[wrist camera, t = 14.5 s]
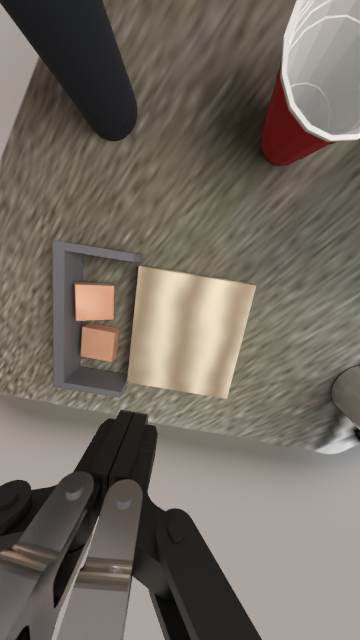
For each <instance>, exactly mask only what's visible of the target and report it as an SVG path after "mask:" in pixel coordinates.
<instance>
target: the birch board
mask: <svg viewBox="0 0 360 640" xmlns="http://www.w3.org/2000/svg"><path fill="white" fill-rule="evenodd" d="M255 289H256V285H253V284H250V283H245V282H239V281H233V280H227V279H221V278H215V277H209V276H203V275H197V274H191V273H185V272H179V271H173V270H167V269H161V268H155V267H149V266H139V270H138V280H137V290H136V299H135V309H134V319H133V328H132V338H131V348H130V357H129V367H128V377H127V382H129V383H135V384H141V385H147V386H153V387H159V388H164V389H170V390H176V391H182V392H188V393H194V394H200V395H206V396H212V397H218V398H224V399H227V397H228V393H229V389H230V385H231V381H232V377H233V373H234V370H235V366H236V362H237V358H238V354H239V350H240V346H241V343H242V339H243V335H244V331H245V327H246V323H247V319H248V316H249V312H250V308H251V304H252V300H253V296H254V292H255Z"/></svg>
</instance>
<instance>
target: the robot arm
mask: <svg viewBox="0 0 360 640" xmlns="http://www.w3.org/2000/svg"><path fill="white" fill-rule="evenodd" d="M332 399H333V402H334V403H335V405H336V406H337V407H338V408H339V409H340V410H341V411H342V412H343V413H344V414H345V415H346V416H347V417H348V418H349V419H350V420H351V421H352V422H353V423H354V424H355V425H356V426H357V427H358V428H359V429H360V366H355V367H353V368H350V369H348V370H347V371H345V372H344V373H342V374H341V375H340V376H339V377H338V378H337V380H336V381H335V383H334V385H333V388H332ZM147 423H148V414H145V413H138V412H132V411H126V410H120V412H119V414H118V416H117V418H116V419H108V420H106V421H105V422H104V423H103V424H101V426H100V427H99V429H98V431H97V432H96V435H95V436H94V437H93V439H92V442H91V443H90V445H89V446H88V448H87V450H86V451H85V453H84V455H83V457H82V458H81V460H80V462H79V463H78V465H77V467H76V469H75V470H74V472H73V473H71V474H69V475H67V476H66V477H64V478H63V479H62V480H61V481H60V482H59V483H58V485H55V486H52V487H48V488H42V489H36V490H31V487H30V485H29V483H27V482H26V481H23V480H15V481H11V482H8V483H6V484H4V485H2V486H0V640H51V639H52V635H53V632H54V629H55V625H56V621H57V618H58V615H59V612H60V610H61V607H62V605H63V603H64V600H65V598H66V596H67V593H68V591H69V589H70V587H71V584H72V582H73V580H74V577H75V575H76V573H77V571H78V568H79V566H80V564H81V562H82V559H83V557H84V555H85V552H86V550H87V548H88V546H89V543H90V541H91V538H92V532H93V529H94V526H95V524H96V521H97V518H98V516H100V517H99V520H98V524H97V527H96V530H95V533H94V536H93V539H92V543H91V546H90V549H89V552H88V555H87V559H86V562H85V564H84V566H83V567H82V568H81V569H80V571H79V574H78V576H77V579H76V581H75V585H74V587H73V590H72V593H71V597H70V600H69V603H68V606H67V609H66V612H65V615H64V618H63V621H62V624H61V628H60V631H59V634H58V637H57V640H123V638H124V630H125V623H126V616H127V609H128V603H129V596H130V589H131V582H132V576H133V577H135V578H136V579H137V580H138V581H140V582H141V583H142V584H143V585H145V586H146V587H147V588H148V589H149V593H150V597H151V600H152V603H153V606H154V608H155V612H156V614H157V617H158V620H159V623H160V626H161V629H162V632H163V635H164V638H165V640H262V639H261V637H260V636H259V634H258V632H257V630H256V629H255V627H254V625H253V624H252V622H251V620H250V618H249V617H248V615H247V613H246V612H245V610H244V608H243V606H242V605H241V603H240V601H239V600H238V598H237V596H236V594H235V593H234V591H233V589H232V588H231V586H230V584H229V582H228V581H227V579H226V577H225V575H224V574H223V572H222V570H221V568H220V567H219V565H218V563H217V562H216V560H215V558H214V556H213V555H212V553H211V551H210V550H209V548H208V546H207V545H206V543H205V541H204V539H203V538H202V536H201V534H200V533H199V531H198V529H197V527H196V526H195V524H194V522H193V520H192V519H191V518H190V516H189V515H188V514H187V513H186V512H184V511H183V510H180V509H169V510H168V511H166V512H165V511H164V510H162V509H160V508H159V507H157V506H156V505H155V504H154V503H153V502H152V501H151V500H150V498H149V496H148V493H147V491H148V486H149V482H150V477H151V472H152V467H153V462H154V457H155V450H156V443H157V435H158V434H157V430H156V427H155V426H152V425H147Z"/></svg>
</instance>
